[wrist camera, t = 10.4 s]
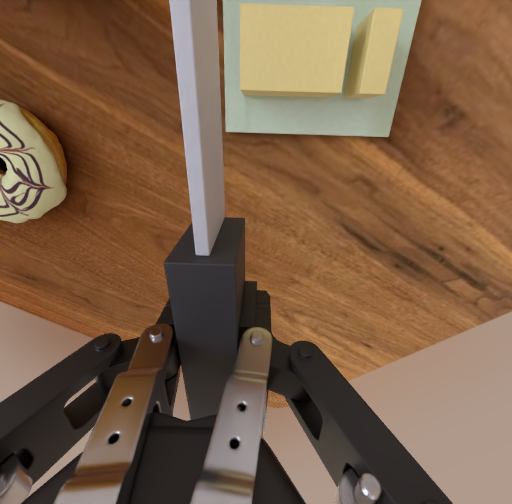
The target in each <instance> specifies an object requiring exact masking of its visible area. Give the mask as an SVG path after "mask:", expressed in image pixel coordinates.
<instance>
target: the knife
mask: <svg viewBox="0 0 512 504" xmlns="http://www.w3.org/2000/svg"><path fill="white" fill-rule="evenodd" d="M169 2H170V11H171V21H172V31H173V40H174V50H175V60H176V69H177V79H178V89H179V98H180V108H181V118H182V127H183V137H184V147H185V156H186V166H187V176H188V185H189V195H190V205H191V214H192V223H191V224H190V226H189V227H188V229H187V230H186V232H185V233H184V234H183V236H182V237H181V239H180V240H179V242H178V243H177V244H176V246H175V247H174V249H173V250H172V252H171V253H170V254H169V256H168V257H167V259H166V260H165V261H164V268H165V274H166V280H167V285H168V291H169V297H170V303H171V309H172V314H173V320H174V326H175V332H176V338H177V343H178V349H179V355H180V361H181V367H182V372H183V378H184V384H185V390H186V396H187V401H188V407H189V413H190V419H191V420H194V419H198V418H203V417H207V416H211V415H218V411H219V408H220V404H221V400H222V397H223V393H224V389H225V386H226V382H227V378H228V375H229V373H230V372H232V371H233V368H234V364H235V360H236V357H237V353H238V349H239V345H240V337H239V325H240V316H241V308H242V300H243V291H244V283H245V218H225V198H224V173H223V148H222V123H221V97H220V72H219V47H218V21H217V0H169Z"/></svg>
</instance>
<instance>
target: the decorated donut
mask: <svg viewBox="0 0 512 504" xmlns="http://www.w3.org/2000/svg"><path fill="white" fill-rule="evenodd" d="M0 157H1V158H2V159H3V160H4V161H5V162H6V165H7V169H8V170H7V172H4V171H3V170H2V169H1V168H0V220H4V221H9V222H13V223H22V222H25V221H27V220H31V219H38V218H40V217H41V216H42V215H43V214H45V213H46V212H48V210H50V209H52V208H53V207H55V206H57V205H59V204H60V203H61V202H62V201H63V200H64V199H65V197H66V194H67V189H66V186H65V185H66V182H67V163H66V160H65V157H64V152H63V149H62V146H61V144H60V143H59V141H58V138H57V136H56V135H55V134H54V133H53V132H52V131H51V130H49V129H48V128H47V127H46V126H45V125H44V124H43V123H42V122H41V121H40V120H39V119H38V118H36V117H35V116H34V115H33V114H32V113H30V112H29V111H28V110H26V109H24V108H21V107H19V106H18V105H16V104H14V103H11V102H7V101H4V100H0Z"/></svg>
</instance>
